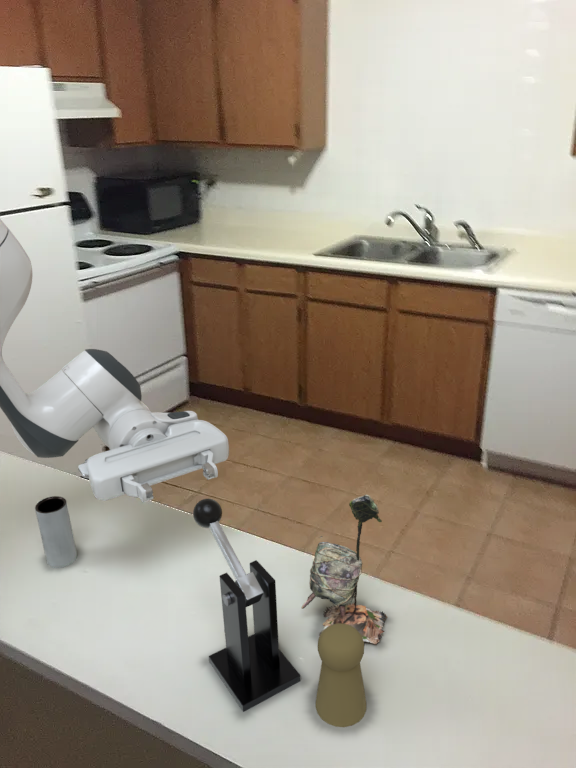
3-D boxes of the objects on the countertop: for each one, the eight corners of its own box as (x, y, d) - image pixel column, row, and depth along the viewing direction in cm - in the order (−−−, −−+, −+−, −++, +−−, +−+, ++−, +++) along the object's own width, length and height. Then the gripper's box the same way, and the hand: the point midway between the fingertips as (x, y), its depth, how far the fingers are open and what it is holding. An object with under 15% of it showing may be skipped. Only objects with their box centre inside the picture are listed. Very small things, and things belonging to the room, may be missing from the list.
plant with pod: (318, 594, 95) (316, 474, 87) (394, 618, 91) (399, 493, 82) (293, 632, 89) (288, 506, 81) (373, 661, 84) (376, 530, 76)
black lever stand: (209, 662, 85) (198, 569, 79) (263, 636, 88) (257, 545, 82) (243, 713, 78) (235, 615, 72) (300, 682, 81) (297, 586, 75)
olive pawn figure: (370, 690, 80) (372, 619, 75) (362, 733, 75) (363, 660, 70) (321, 680, 82) (320, 610, 77) (309, 722, 76) (307, 650, 72)
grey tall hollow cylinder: (83, 555, 105) (72, 500, 101) (61, 572, 102) (49, 516, 97) (63, 547, 107) (52, 492, 103) (40, 563, 104) (28, 507, 99)
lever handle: (186, 513, 85) (190, 498, 82) (212, 504, 86) (216, 489, 84) (237, 613, 77) (242, 600, 75) (263, 600, 79) (270, 587, 77)
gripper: (70, 445, 94) (102, 489, 83) (202, 407, 104) (245, 442, 93) (77, 483, 96) (109, 531, 86) (205, 443, 106) (248, 481, 95)
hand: (181, 484), depth 89 cm, fingers open, 8 cm apart
